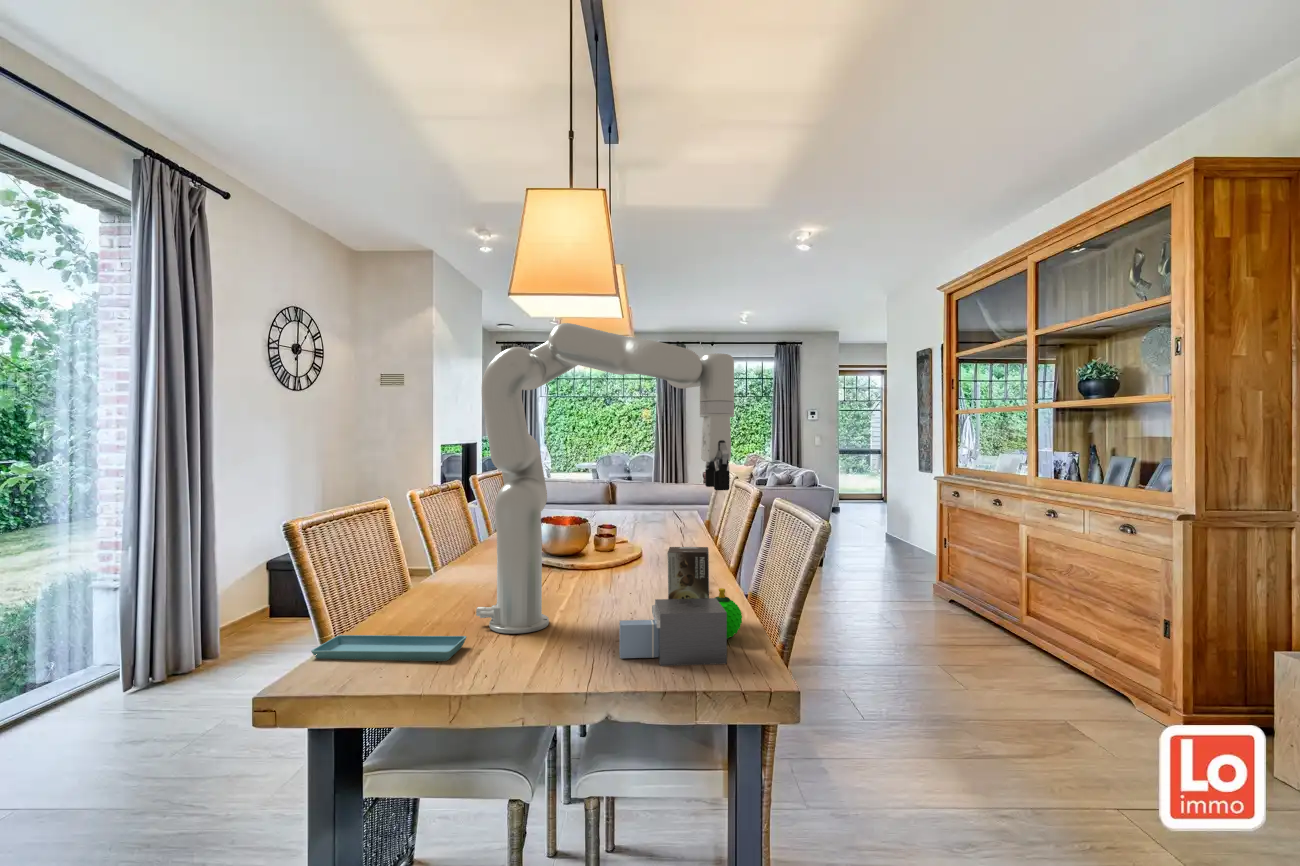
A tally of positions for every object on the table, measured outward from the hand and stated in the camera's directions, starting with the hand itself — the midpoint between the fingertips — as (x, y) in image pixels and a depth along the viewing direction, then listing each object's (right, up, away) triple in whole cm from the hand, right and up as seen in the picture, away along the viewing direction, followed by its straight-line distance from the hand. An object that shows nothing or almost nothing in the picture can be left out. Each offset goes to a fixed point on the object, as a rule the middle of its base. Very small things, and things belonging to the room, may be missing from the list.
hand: (716, 488), depth 134 cm
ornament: (0, -30, -10) cm, 31 cm away
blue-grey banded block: (-13, -29, -20) cm, 38 cm away
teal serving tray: (-64, -30, -19) cm, 73 cm away
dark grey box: (-7, -29, -20) cm, 36 cm away
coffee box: (-6, -30, +1) cm, 30 cm away
